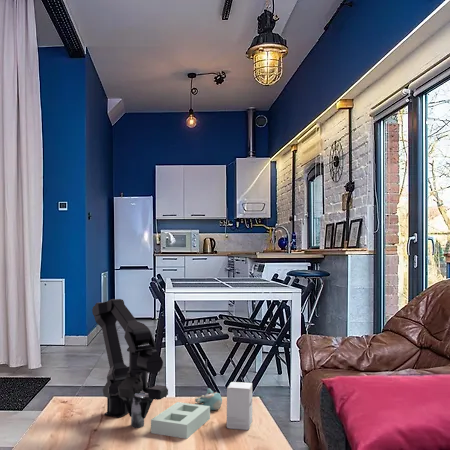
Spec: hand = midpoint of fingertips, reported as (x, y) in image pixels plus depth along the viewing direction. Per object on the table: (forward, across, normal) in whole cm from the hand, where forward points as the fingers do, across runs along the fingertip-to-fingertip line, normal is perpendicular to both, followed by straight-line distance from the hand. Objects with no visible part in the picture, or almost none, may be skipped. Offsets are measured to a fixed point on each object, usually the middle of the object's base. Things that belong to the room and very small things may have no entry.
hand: (137, 417), depth 152 cm
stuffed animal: (+3, +14, +24) cm, 28 cm away
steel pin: (+2, 0, 0) cm, 2 cm away
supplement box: (+3, +30, +12) cm, 32 cm away
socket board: (+2, +13, +5) cm, 14 cm away
